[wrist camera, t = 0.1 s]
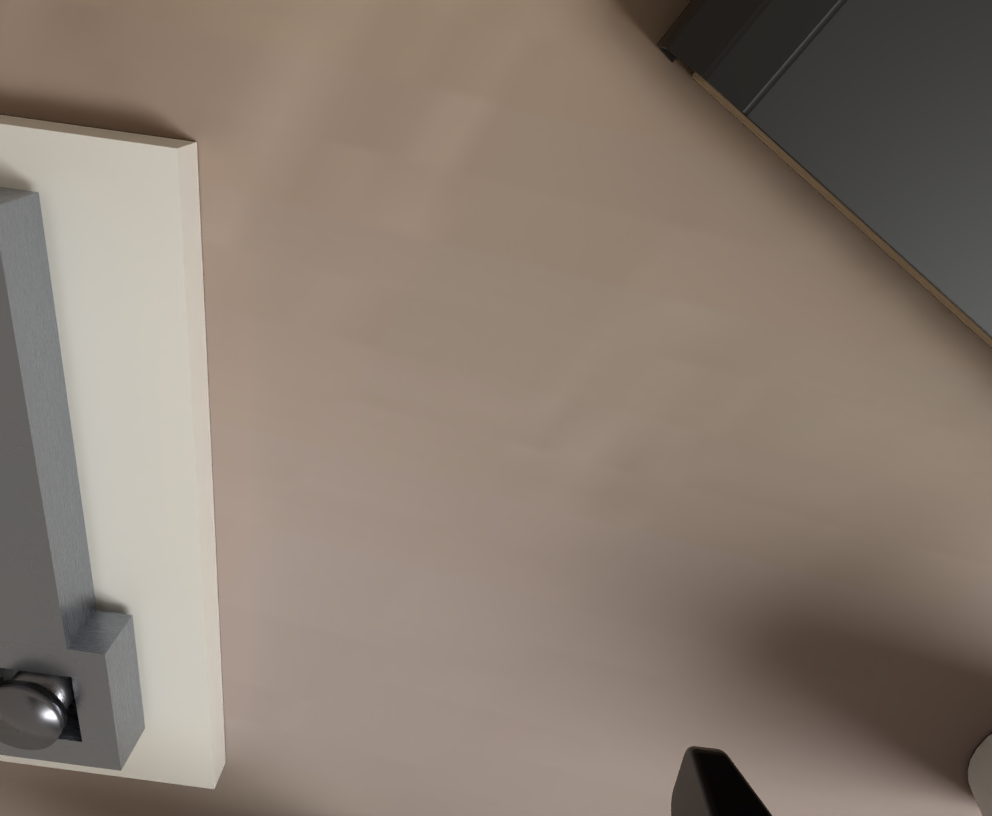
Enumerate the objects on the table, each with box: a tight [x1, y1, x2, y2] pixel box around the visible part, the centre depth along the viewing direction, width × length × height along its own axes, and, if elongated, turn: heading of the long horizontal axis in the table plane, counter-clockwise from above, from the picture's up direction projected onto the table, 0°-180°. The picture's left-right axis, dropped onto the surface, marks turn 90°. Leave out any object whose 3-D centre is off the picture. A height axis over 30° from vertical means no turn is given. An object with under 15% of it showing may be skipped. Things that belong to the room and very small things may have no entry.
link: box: [0, 187, 145, 771], centre depth 23 cm, size 19×5×2 cm, turn 173°
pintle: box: [0, 670, 75, 750], centre depth 26 cm, size 3×3×4 cm
